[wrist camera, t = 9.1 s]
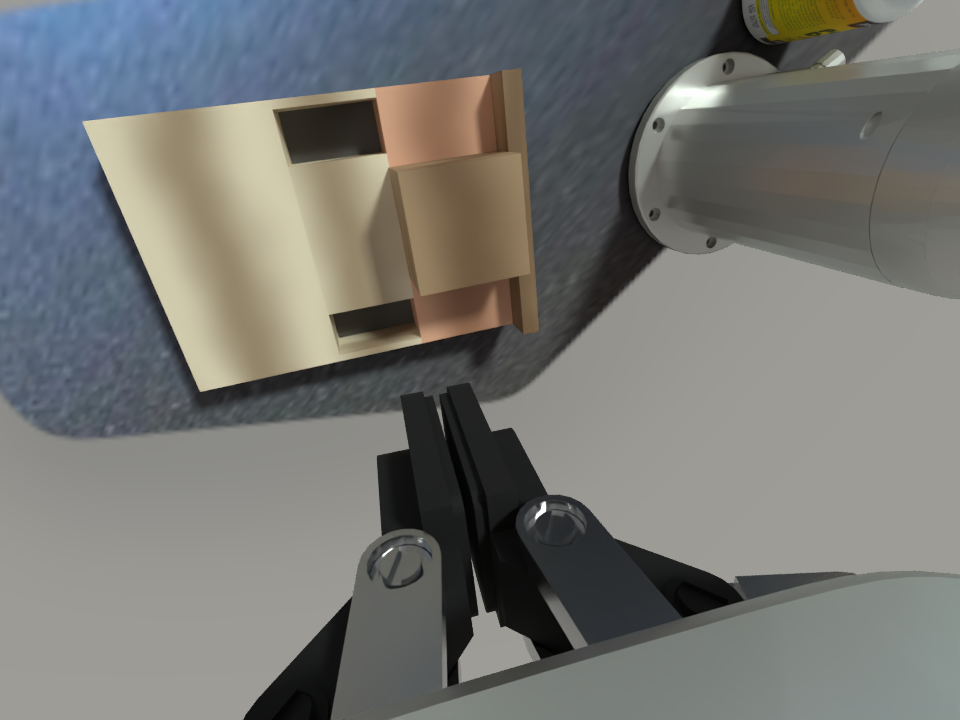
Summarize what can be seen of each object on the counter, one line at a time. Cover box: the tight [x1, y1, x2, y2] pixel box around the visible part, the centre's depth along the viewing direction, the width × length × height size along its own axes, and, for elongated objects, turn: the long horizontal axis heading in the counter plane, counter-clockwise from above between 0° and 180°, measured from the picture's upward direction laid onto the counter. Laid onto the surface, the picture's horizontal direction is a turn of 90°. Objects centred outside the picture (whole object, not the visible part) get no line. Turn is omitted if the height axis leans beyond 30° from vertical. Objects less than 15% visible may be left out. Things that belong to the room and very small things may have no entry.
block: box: [388, 151, 530, 296], centre depth 26 cm, size 6×6×4 cm
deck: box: [82, 68, 539, 392], centre depth 27 cm, size 20×14×5 cm
